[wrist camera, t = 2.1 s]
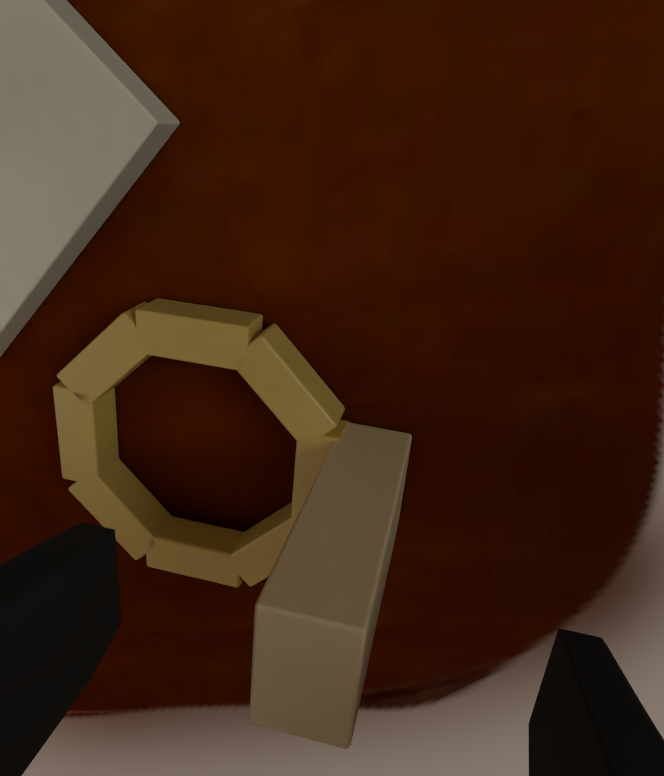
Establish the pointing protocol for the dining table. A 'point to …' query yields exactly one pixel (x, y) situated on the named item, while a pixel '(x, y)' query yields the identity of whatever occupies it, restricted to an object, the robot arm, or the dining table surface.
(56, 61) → the white peg stand
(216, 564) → the tan ring with handle
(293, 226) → the dining table surface
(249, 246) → the dining table surface
